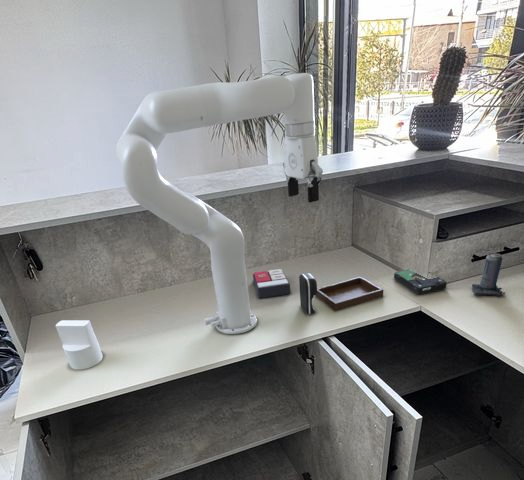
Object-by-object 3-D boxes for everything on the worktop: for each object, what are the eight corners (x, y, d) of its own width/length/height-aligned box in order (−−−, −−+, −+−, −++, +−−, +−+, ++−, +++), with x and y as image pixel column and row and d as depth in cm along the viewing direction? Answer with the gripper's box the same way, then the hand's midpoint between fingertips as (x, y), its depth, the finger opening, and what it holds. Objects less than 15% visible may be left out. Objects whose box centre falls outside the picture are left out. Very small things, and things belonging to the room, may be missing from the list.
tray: (335, 311, 134) (335, 303, 132) (315, 296, 144) (315, 289, 142) (383, 296, 139) (383, 289, 137) (360, 283, 149) (360, 276, 147)
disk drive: (446, 289, 139) (419, 273, 151) (447, 281, 138) (420, 265, 150) (418, 296, 137) (392, 278, 149) (419, 288, 136) (393, 271, 148)
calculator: (282, 267, 157) (289, 281, 144) (283, 278, 159) (290, 293, 146) (252, 271, 157) (257, 286, 144) (253, 282, 159) (258, 298, 146)
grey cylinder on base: (495, 286, 138) (502, 249, 132) (505, 296, 132) (514, 259, 125) (465, 288, 139) (471, 252, 132) (475, 298, 132) (482, 261, 126)
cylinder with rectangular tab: (108, 351, 126) (95, 315, 119) (93, 369, 118) (79, 331, 112) (80, 351, 127) (66, 315, 121) (63, 369, 120) (48, 331, 113)
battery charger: (319, 313, 133) (318, 278, 127) (307, 315, 133) (305, 281, 127) (311, 303, 139) (310, 270, 133) (300, 306, 139) (298, 272, 133)
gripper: (270, 130, 117) (275, 196, 126) (307, 134, 104) (310, 207, 113) (293, 126, 120) (297, 190, 129) (332, 129, 107) (333, 200, 116)
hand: (303, 198), depth 121 cm, fingers open, 9 cm apart
